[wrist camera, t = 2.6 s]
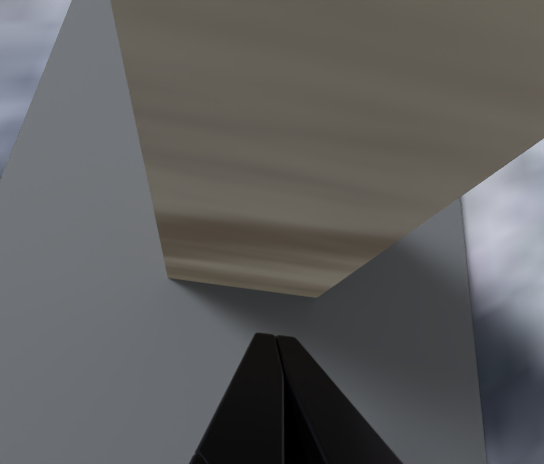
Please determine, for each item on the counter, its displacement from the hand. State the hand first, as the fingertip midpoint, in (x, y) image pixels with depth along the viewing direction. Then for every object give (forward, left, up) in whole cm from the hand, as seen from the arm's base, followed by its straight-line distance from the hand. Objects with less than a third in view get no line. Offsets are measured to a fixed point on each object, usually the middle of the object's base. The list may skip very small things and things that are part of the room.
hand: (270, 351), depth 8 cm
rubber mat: (+8, +2, -8) cm, 11 cm away
